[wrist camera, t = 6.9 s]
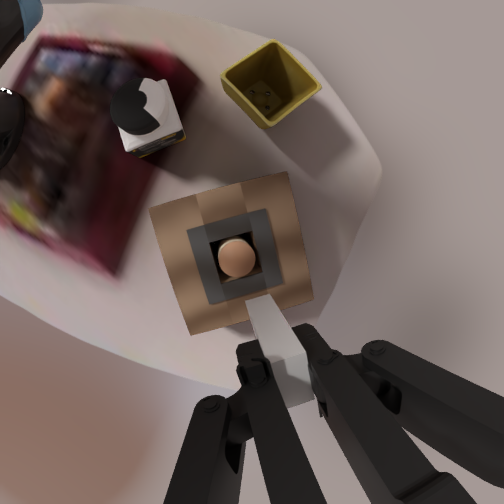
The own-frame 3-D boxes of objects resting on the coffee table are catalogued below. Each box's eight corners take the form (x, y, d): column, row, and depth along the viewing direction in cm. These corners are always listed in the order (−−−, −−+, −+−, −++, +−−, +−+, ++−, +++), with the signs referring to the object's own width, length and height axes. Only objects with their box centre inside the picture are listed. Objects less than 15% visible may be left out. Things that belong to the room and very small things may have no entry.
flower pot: (256, 141, 38) (271, 128, 29) (215, 98, 36) (218, 74, 27) (300, 106, 38) (324, 87, 29) (260, 65, 35) (274, 37, 27)
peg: (212, 235, 38) (214, 247, 31) (241, 227, 39) (250, 237, 31) (220, 263, 39) (224, 281, 32) (248, 255, 40) (259, 271, 32)
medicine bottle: (139, 159, 36) (112, 146, 24) (125, 115, 34) (96, 88, 22) (186, 139, 36) (178, 117, 25) (171, 95, 35) (159, 60, 23)
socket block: (159, 205, 38) (147, 208, 29) (271, 174, 39) (287, 170, 31) (192, 310, 41) (190, 337, 33) (295, 280, 43) (315, 300, 35)
